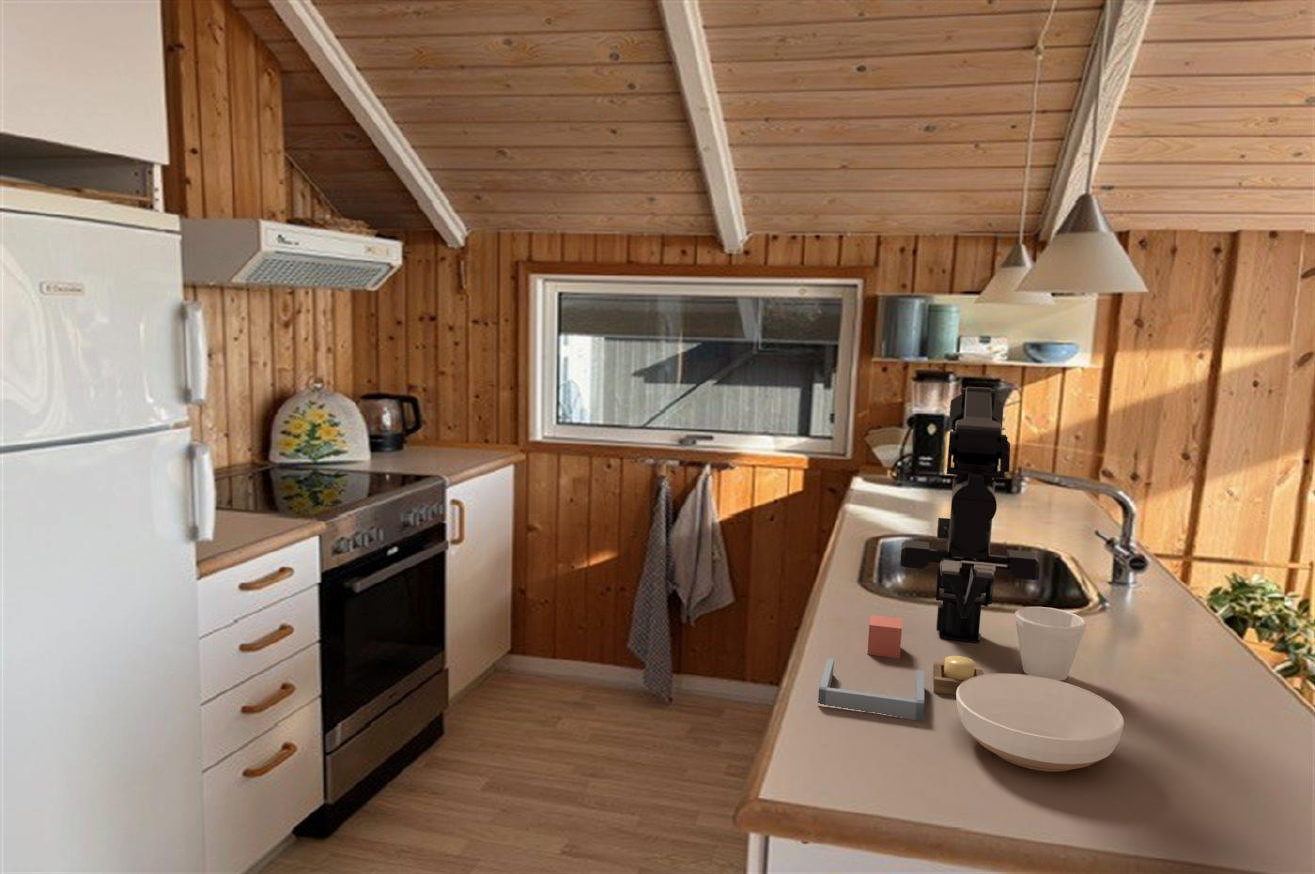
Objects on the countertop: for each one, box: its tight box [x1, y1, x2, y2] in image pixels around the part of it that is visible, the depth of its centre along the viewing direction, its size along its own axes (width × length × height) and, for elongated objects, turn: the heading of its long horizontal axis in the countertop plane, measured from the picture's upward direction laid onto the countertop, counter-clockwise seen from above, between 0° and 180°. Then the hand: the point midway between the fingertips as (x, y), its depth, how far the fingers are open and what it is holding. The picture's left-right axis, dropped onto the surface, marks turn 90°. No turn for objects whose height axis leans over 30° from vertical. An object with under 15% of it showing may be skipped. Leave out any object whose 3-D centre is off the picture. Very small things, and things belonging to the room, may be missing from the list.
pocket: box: [817, 657, 925, 722], centre depth 131 cm, size 14×12×2 cm
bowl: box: [955, 672, 1125, 773], centre depth 116 cm, size 20×20×6 cm
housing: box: [932, 661, 985, 696], centre depth 136 cm, size 7×7×2 cm
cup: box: [1014, 606, 1087, 682], centre depth 140 cm, size 10×10×9 cm
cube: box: [867, 614, 903, 659], centre depth 149 cm, size 5×5×5 cm
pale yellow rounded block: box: [944, 655, 976, 680], centre depth 135 cm, size 4×4×3 cm
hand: (963, 616), depth 134 cm, fingers closed
